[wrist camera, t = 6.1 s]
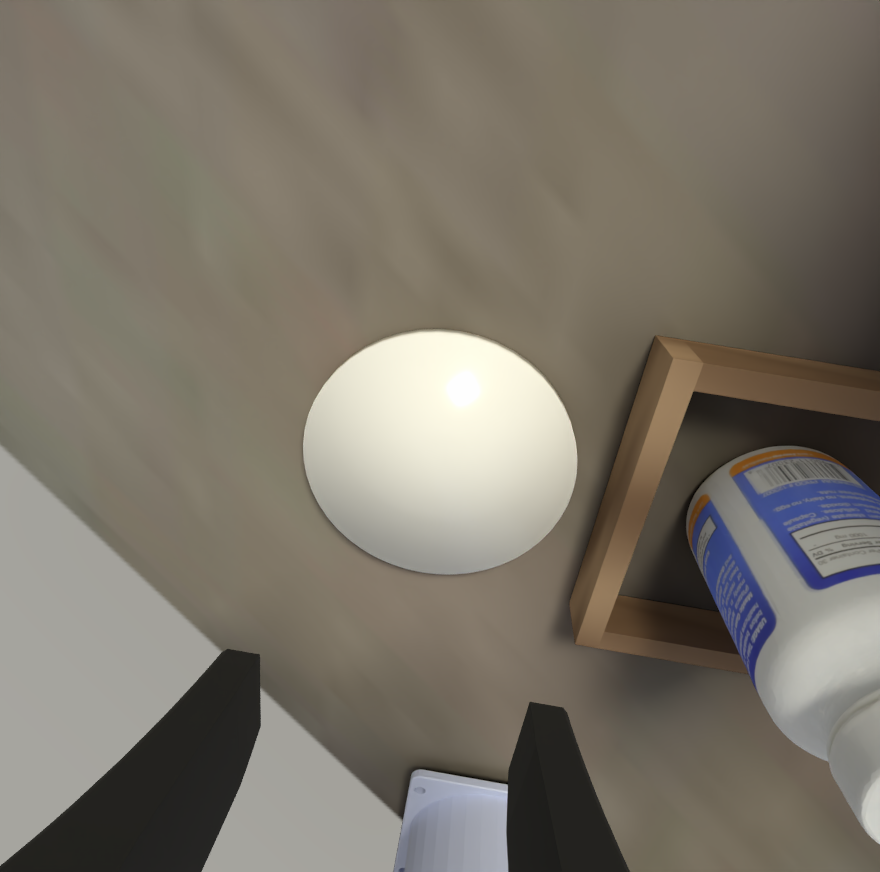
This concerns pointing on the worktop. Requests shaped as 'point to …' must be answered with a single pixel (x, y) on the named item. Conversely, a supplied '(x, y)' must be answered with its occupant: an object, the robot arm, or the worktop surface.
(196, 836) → the robot arm
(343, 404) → the white disc
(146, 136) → the worktop surface
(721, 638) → the socket block
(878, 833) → the pill bottle
